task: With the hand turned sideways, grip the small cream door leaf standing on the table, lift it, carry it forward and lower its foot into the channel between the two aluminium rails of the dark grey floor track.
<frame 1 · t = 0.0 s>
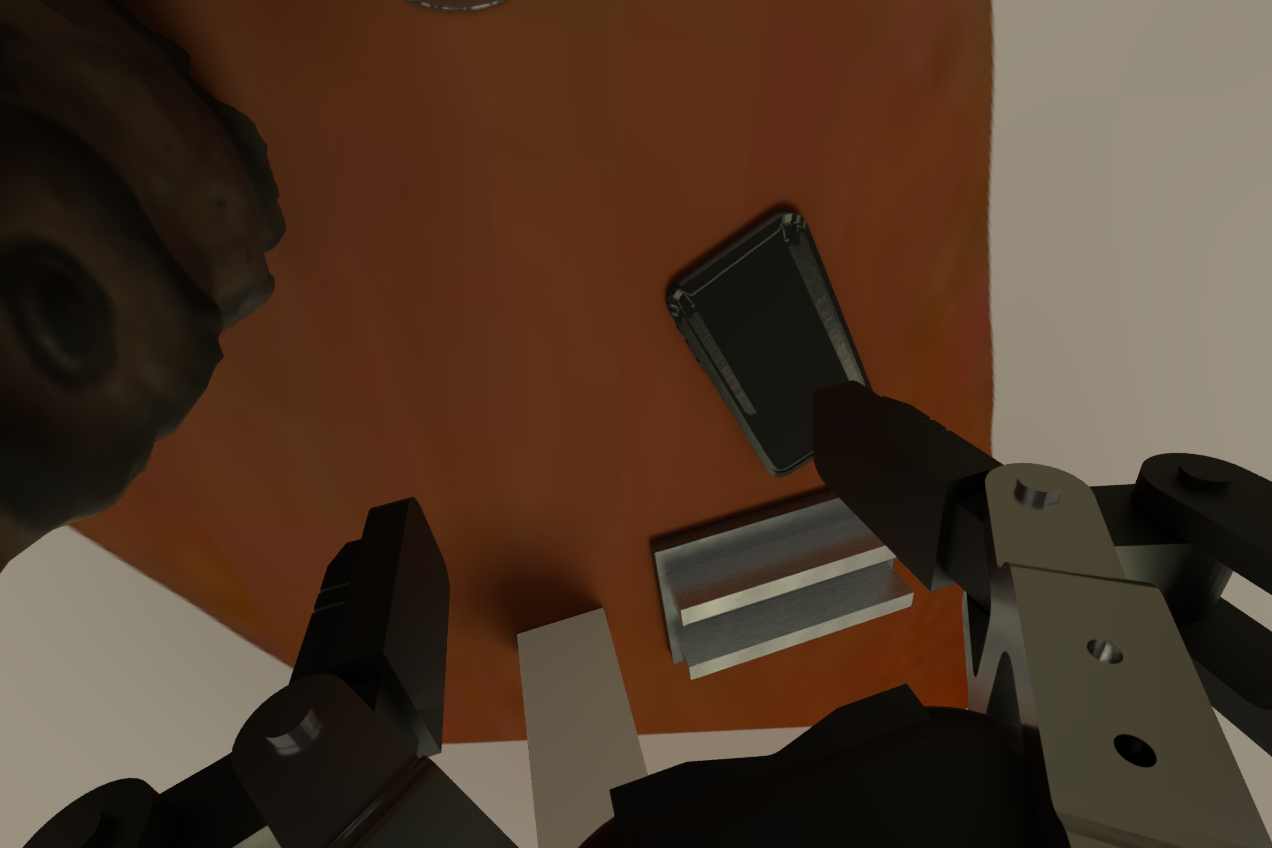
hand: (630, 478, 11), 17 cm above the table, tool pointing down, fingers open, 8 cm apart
floor track: (778, 565, 41), on the table
owl: (49, 130, 19), on the table
phone: (774, 354, 32), on the table
door leaf: (564, 632, 39), on the table
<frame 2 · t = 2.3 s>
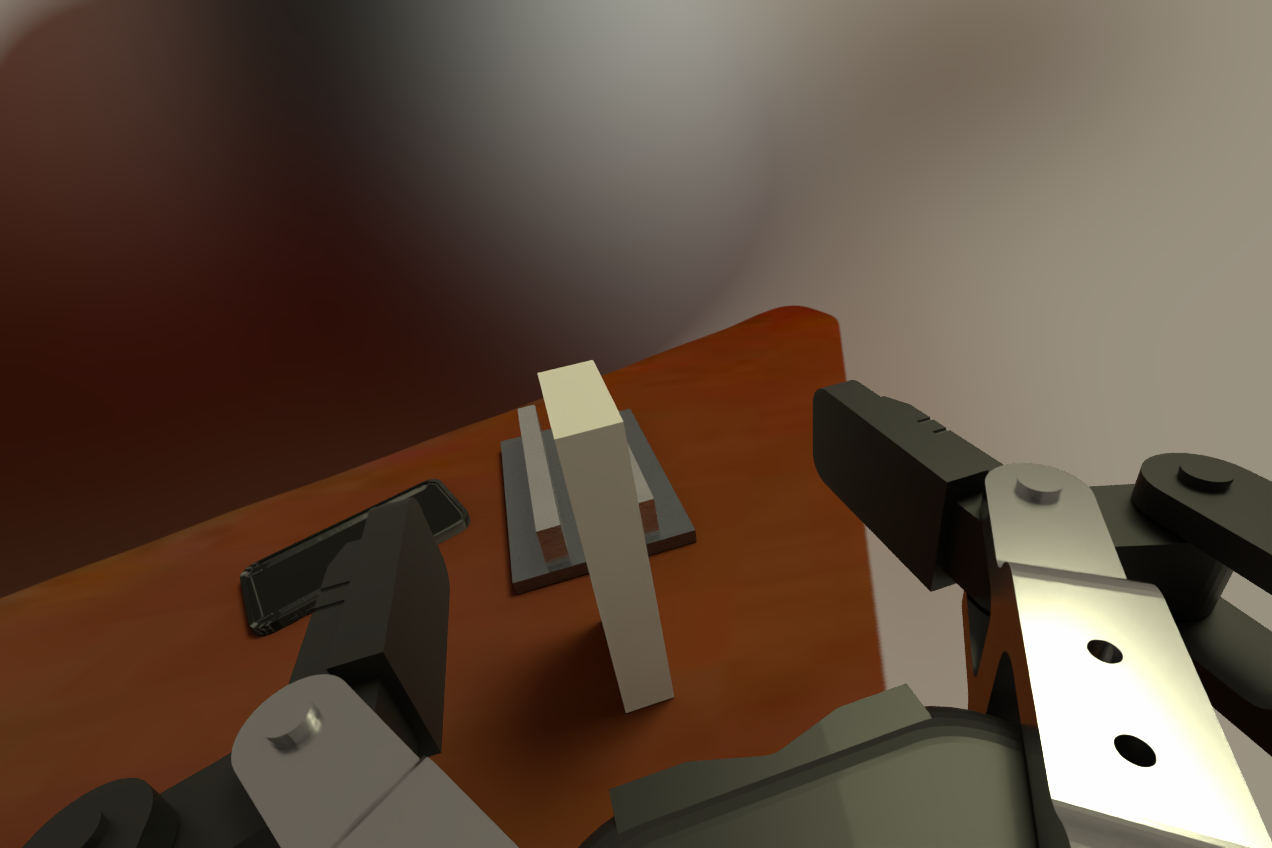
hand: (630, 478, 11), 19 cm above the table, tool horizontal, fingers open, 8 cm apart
floor track: (585, 489, 44), on the table
phone: (364, 556, 42), on the table
door leaf: (635, 655, 30), on the table
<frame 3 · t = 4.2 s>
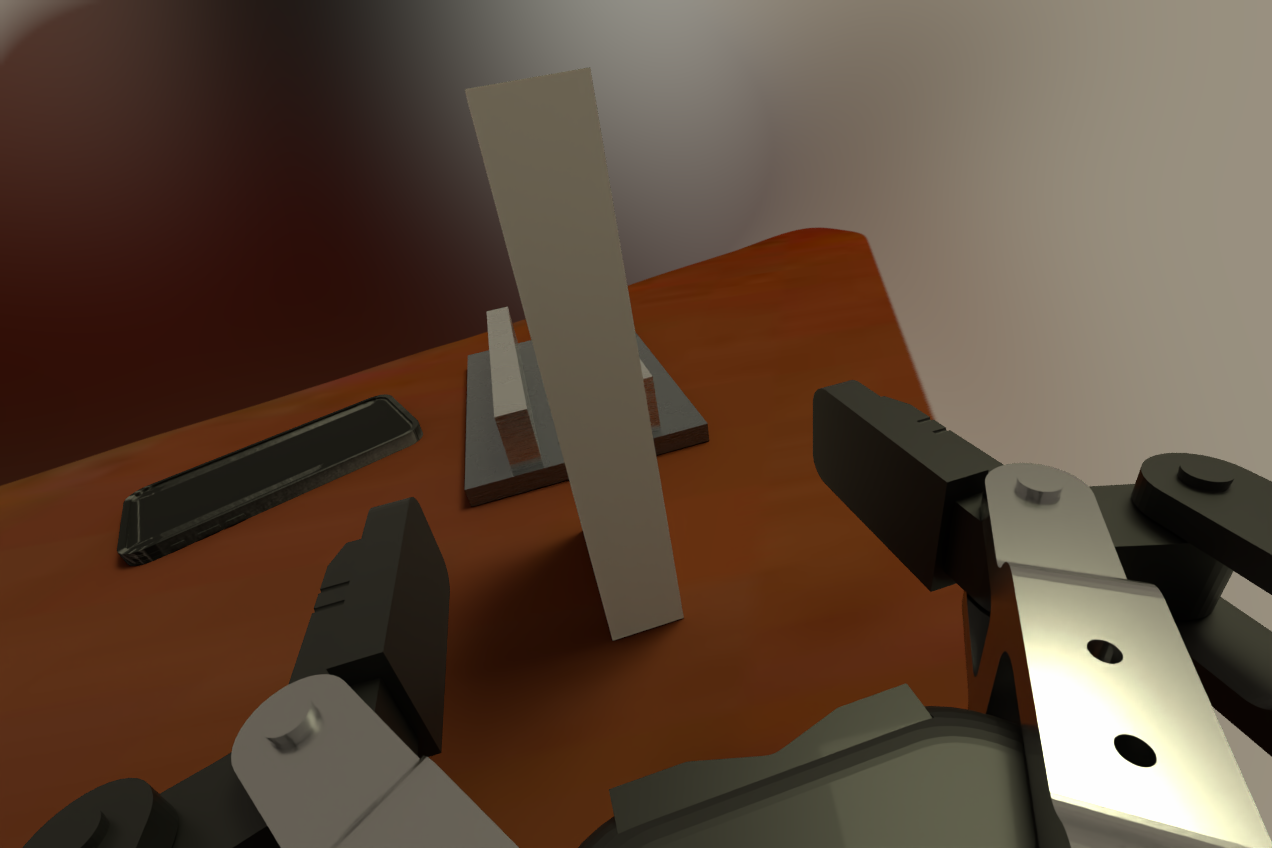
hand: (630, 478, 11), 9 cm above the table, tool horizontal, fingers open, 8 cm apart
floor track: (567, 397, 35), on the table
phone: (288, 478, 33), on the table
door leaf: (627, 569, 22), on the table
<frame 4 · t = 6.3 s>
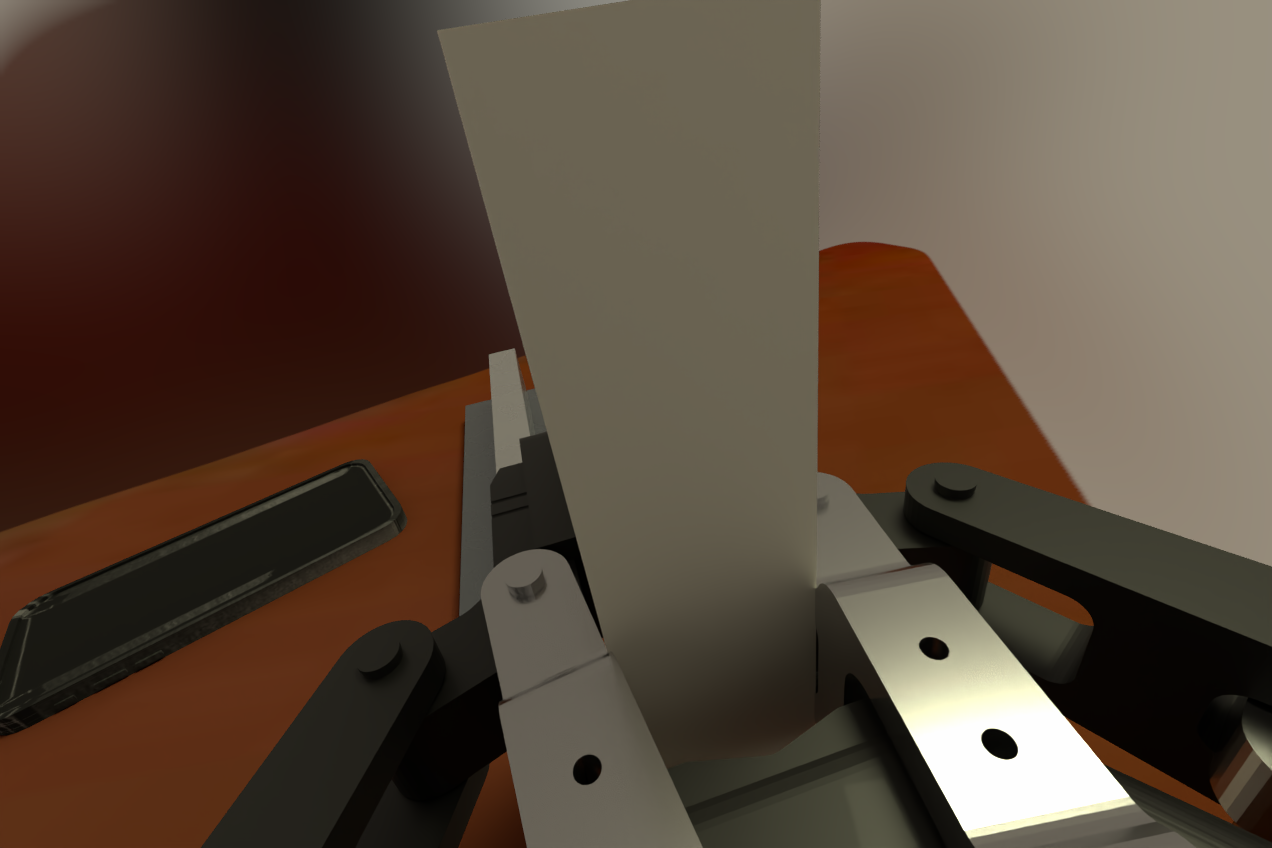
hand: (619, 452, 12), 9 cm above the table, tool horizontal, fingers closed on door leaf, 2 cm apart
floor track: (591, 471, 28), on the table
phone: (231, 581, 26), on the table
door leaf: (705, 811, 14), on the table, touching gripper
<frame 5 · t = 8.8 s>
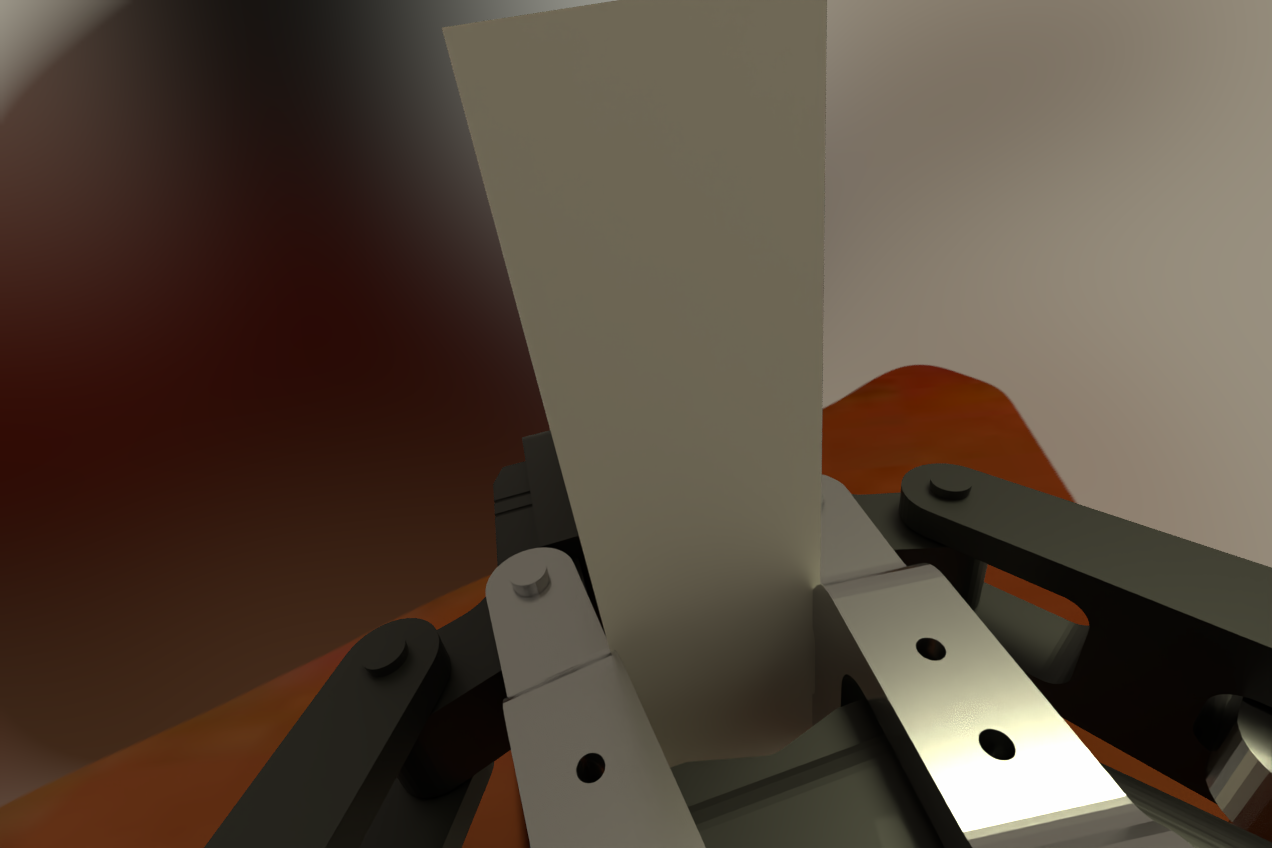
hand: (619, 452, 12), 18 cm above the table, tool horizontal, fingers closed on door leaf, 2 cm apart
door leaf: (707, 812, 14), point 9 cm above the table, touching gripper
when the fingers open (11 cm above the table, at t = 11.0 s): door leaf drops 1 cm, resting on floor track.
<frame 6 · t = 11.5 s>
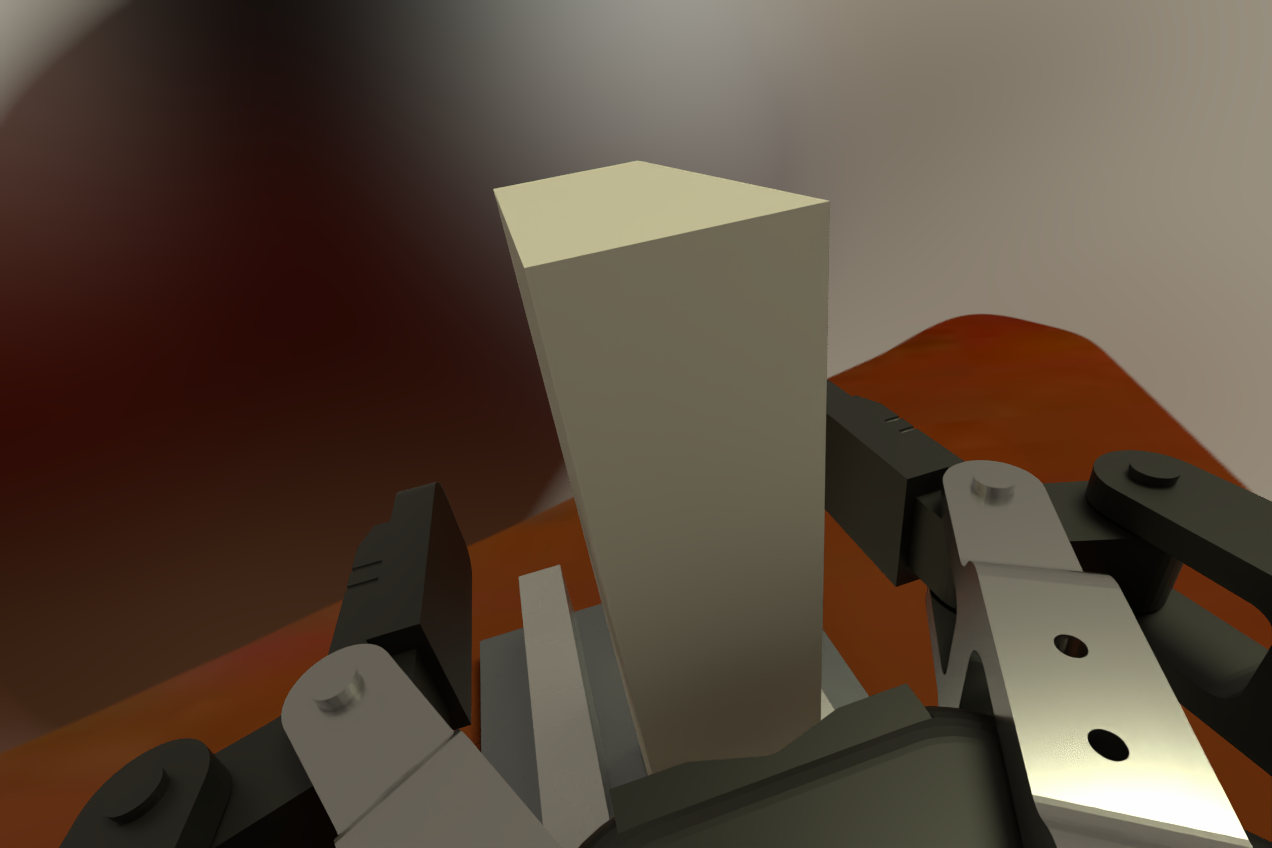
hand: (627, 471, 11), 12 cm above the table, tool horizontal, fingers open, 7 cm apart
door leaf: (713, 834, 15), point 1 cm above the table, touching floor track
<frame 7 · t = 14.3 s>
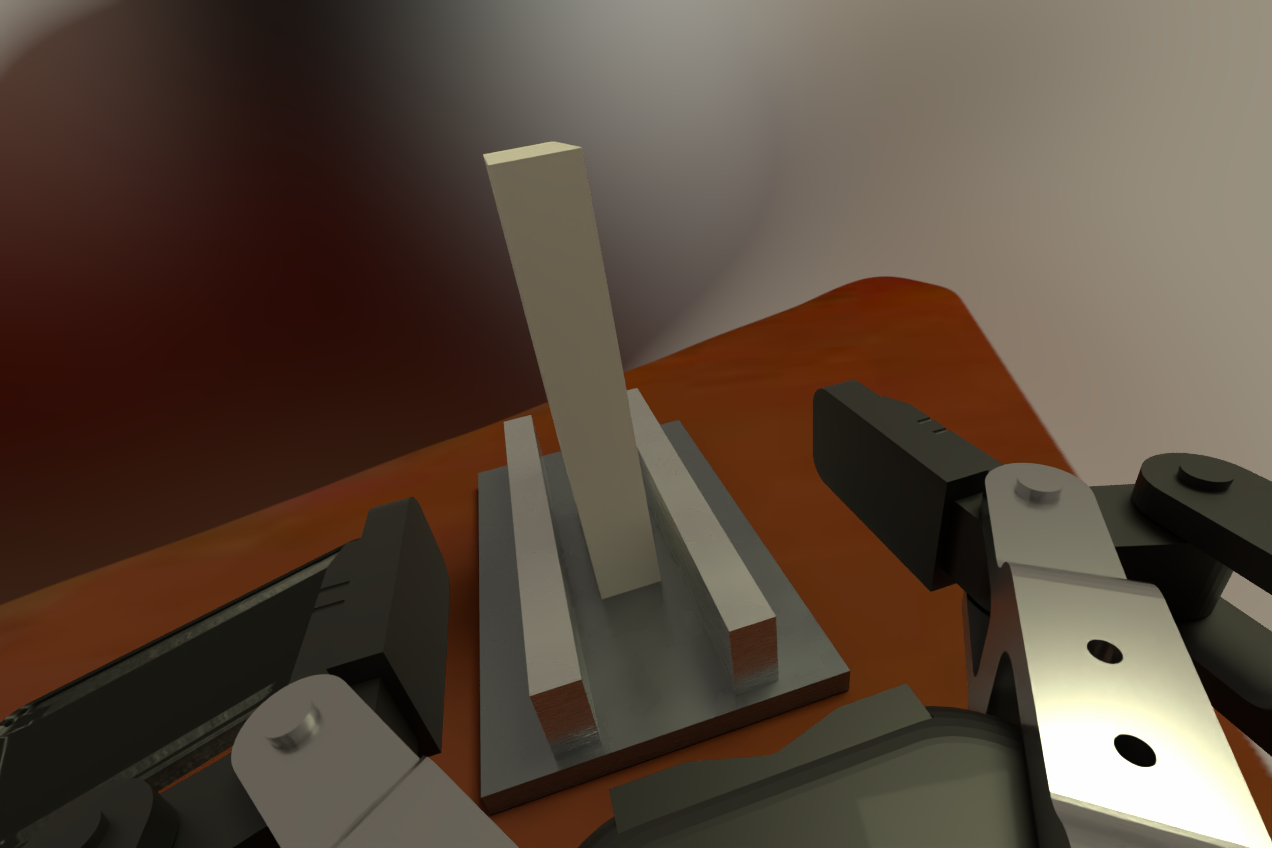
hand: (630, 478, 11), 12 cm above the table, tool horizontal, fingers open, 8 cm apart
floor track: (617, 561, 26), on the table
phone: (228, 687, 24), on the table
door leaf: (615, 542, 25), point 1 cm above the table, touching floor track
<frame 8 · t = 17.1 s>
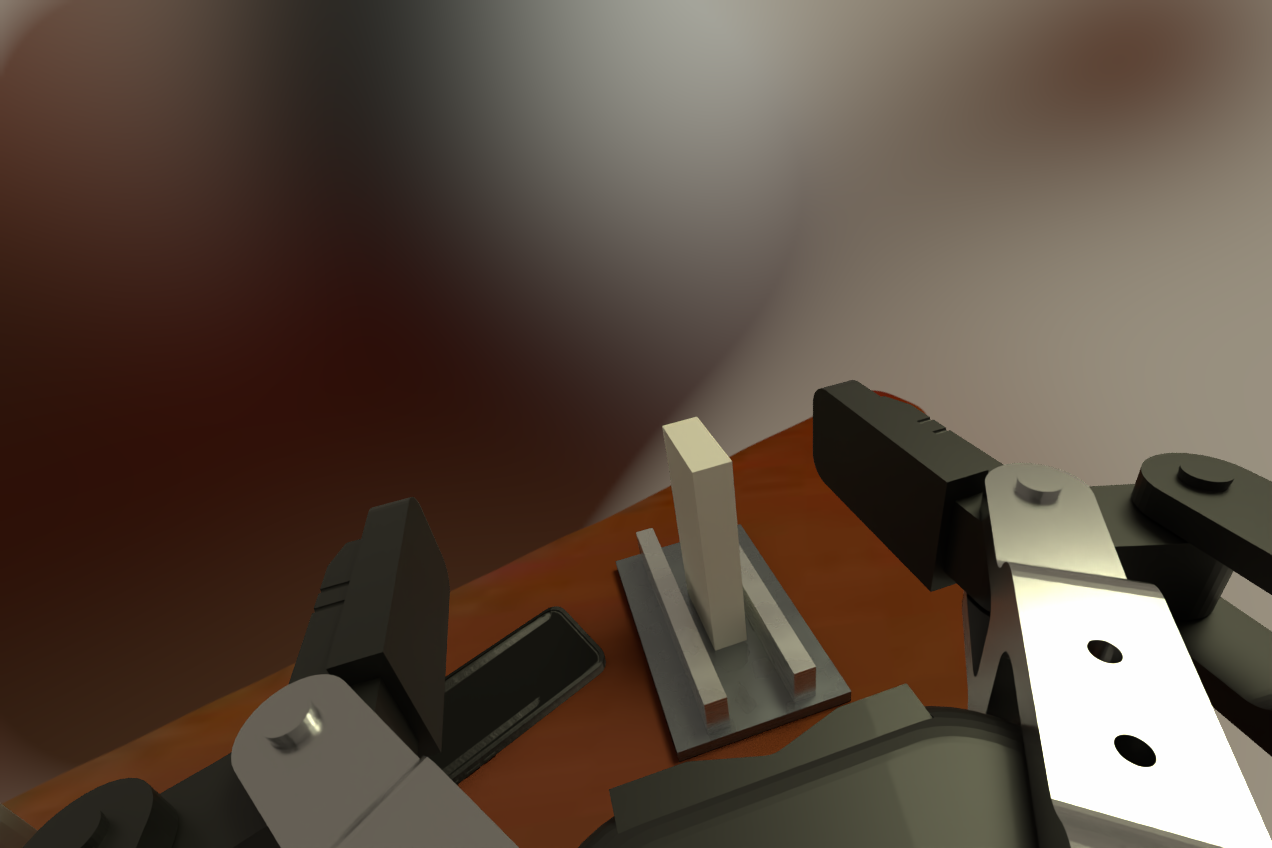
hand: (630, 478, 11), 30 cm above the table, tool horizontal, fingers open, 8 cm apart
floor track: (716, 625, 44), on the table
phone: (503, 699, 42), on the table
door leaf: (715, 614, 44), point 1 cm above the table, touching floor track
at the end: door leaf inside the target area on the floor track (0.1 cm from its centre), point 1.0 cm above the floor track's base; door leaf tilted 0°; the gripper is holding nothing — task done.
